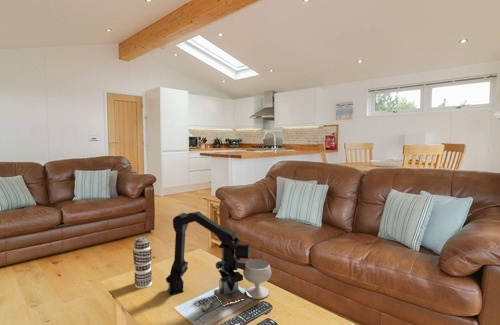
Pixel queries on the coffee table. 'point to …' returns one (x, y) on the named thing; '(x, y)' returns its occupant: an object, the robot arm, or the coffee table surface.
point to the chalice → (257, 277)
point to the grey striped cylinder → (142, 262)
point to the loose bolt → (206, 306)
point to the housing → (226, 286)
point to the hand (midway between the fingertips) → (228, 287)
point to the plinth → (229, 296)
